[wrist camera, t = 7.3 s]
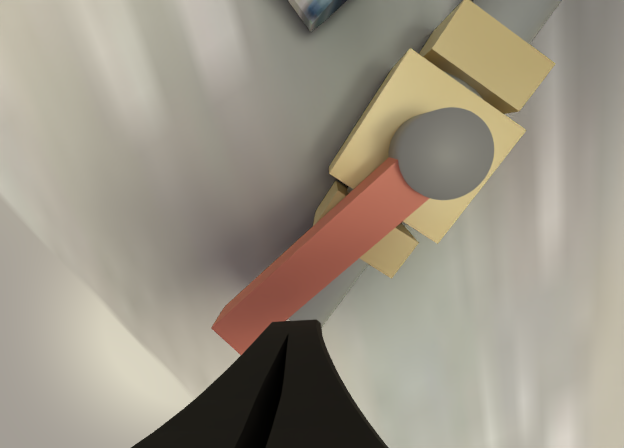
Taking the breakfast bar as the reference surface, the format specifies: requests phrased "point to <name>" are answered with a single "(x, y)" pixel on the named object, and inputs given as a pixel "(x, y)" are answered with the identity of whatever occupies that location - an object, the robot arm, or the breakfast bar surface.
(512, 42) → the valve pipe
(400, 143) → the lever
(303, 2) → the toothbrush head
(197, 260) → the breakfast bar surface
